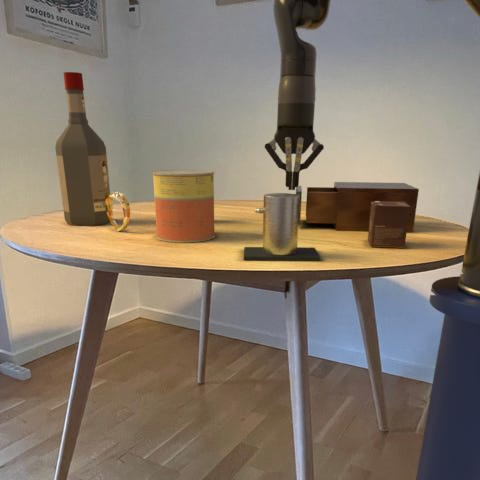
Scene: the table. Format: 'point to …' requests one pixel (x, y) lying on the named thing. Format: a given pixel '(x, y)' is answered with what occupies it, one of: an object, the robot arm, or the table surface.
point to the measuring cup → (280, 223)
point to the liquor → (81, 162)
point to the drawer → (319, 204)
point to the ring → (125, 206)
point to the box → (388, 224)
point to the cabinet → (359, 202)
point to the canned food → (184, 205)
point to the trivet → (301, 255)
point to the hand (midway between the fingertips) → (291, 189)
